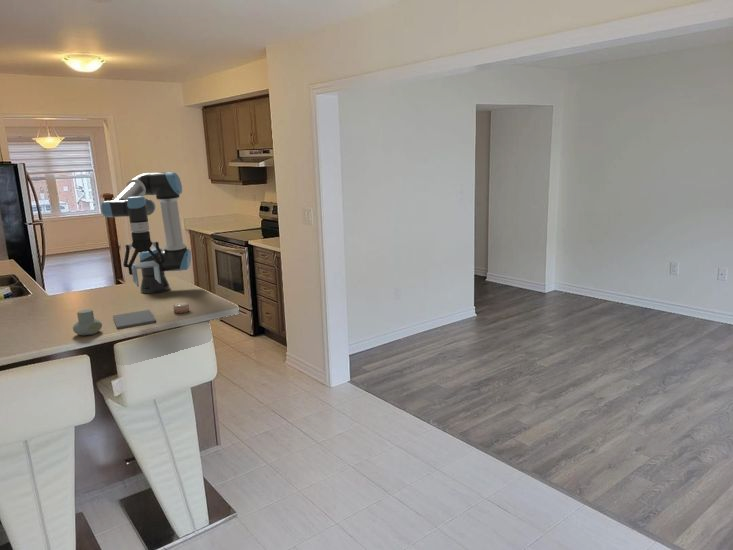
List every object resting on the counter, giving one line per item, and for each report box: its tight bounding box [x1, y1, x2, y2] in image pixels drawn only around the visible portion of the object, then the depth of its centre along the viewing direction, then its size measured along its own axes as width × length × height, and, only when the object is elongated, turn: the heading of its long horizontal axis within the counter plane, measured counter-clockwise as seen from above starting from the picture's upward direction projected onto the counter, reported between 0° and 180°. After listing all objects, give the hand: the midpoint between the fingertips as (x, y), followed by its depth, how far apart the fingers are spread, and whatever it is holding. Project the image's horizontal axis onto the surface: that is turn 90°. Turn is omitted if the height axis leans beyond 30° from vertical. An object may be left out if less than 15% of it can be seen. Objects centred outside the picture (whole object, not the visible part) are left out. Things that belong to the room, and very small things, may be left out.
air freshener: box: [72, 308, 103, 336], centre depth 221 cm, size 11×8×10 cm
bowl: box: [172, 302, 190, 314], centre depth 248 cm, size 7×7×4 cm
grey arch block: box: [132, 261, 161, 288], centre depth 237 cm, size 12×10×9 cm
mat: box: [112, 309, 157, 330], centre depth 238 cm, size 20×16×1 cm
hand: (146, 279), depth 238 cm, fingers closed on grey arch block, 10 cm apart
